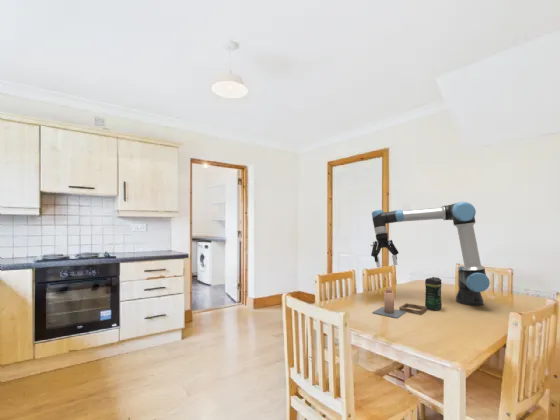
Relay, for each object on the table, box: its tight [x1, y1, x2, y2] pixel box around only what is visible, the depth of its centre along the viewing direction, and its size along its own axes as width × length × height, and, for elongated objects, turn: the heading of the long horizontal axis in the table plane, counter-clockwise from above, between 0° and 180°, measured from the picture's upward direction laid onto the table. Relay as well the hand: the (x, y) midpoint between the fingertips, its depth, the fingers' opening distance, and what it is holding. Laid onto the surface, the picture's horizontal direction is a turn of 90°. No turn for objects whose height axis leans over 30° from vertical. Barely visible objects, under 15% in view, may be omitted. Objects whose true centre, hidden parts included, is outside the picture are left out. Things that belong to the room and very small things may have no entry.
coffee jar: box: [424, 276, 443, 311], centre depth 182 cm, size 10×8×19 cm
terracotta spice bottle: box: [383, 287, 395, 313], centre depth 173 cm, size 5×5×13 cm
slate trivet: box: [372, 306, 407, 319], centre depth 173 cm, size 14×14×1 cm
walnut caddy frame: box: [398, 302, 428, 316], centre depth 178 cm, size 12×12×2 cm
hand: (387, 266), depth 195 cm, fingers open, 13 cm apart
